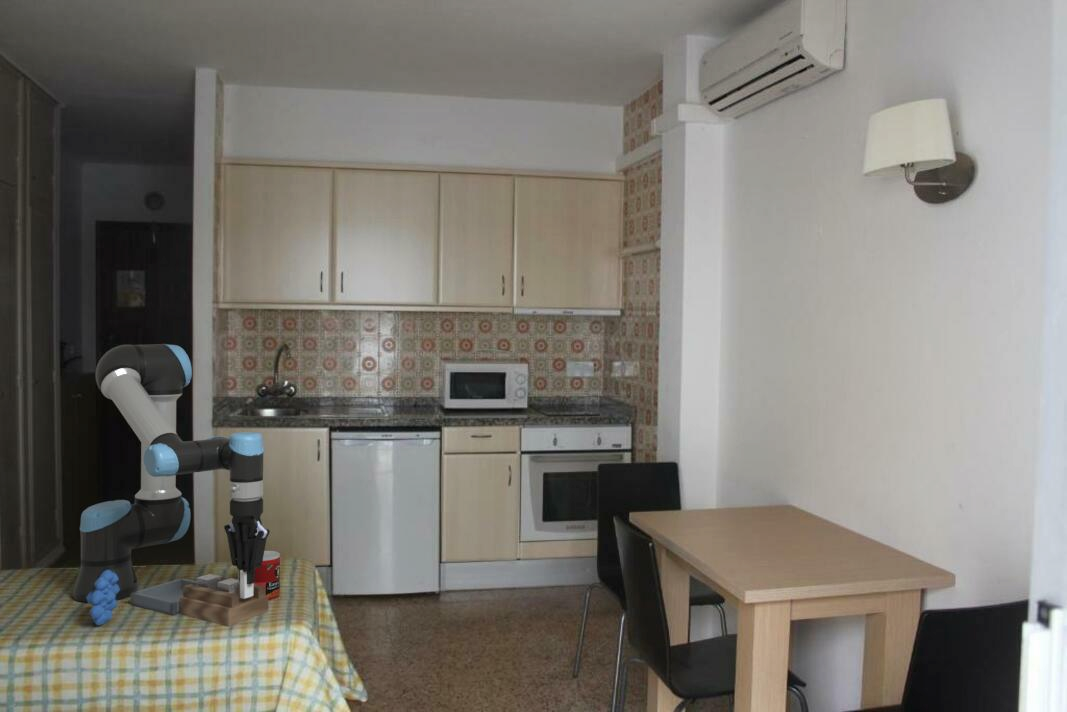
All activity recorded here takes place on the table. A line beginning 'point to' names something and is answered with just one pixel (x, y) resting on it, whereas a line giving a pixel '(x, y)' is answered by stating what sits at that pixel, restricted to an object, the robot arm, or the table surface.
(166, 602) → the tray
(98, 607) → the grapes
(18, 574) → the table surface
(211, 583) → the grey stone cube
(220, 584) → the grey cube
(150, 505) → the robot arm
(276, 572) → the canned food
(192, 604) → the slot block
